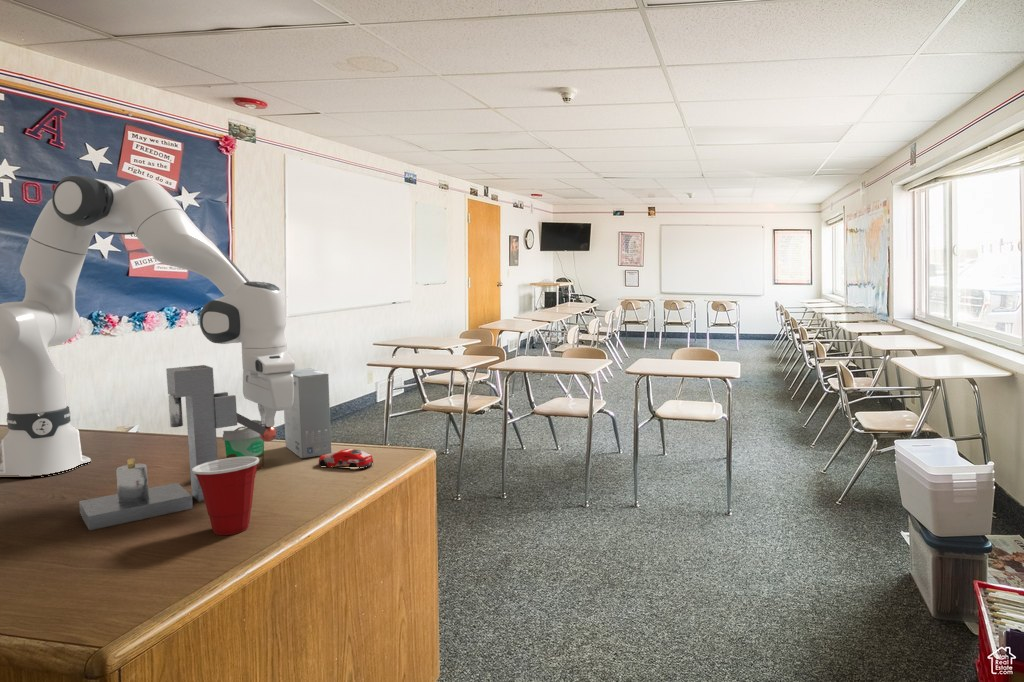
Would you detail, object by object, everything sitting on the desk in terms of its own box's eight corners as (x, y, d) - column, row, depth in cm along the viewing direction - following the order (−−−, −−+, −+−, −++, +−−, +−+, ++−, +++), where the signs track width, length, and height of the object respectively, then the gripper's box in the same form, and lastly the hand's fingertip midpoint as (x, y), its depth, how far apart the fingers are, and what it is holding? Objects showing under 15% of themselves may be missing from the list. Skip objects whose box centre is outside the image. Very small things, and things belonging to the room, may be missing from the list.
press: (80, 514, 131) (68, 376, 128) (229, 484, 147) (221, 362, 145) (89, 530, 122) (77, 383, 120) (246, 497, 139) (238, 367, 136)
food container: (249, 477, 153) (247, 432, 152) (224, 475, 154) (221, 431, 153) (279, 461, 165) (277, 420, 164) (255, 460, 166) (253, 419, 165)
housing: (116, 498, 132) (113, 459, 131) (145, 492, 135) (142, 454, 134) (121, 504, 128) (118, 464, 127) (151, 498, 131) (148, 459, 130)
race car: (313, 468, 160) (312, 451, 160) (327, 461, 165) (327, 445, 165) (363, 472, 155) (362, 455, 155) (376, 466, 161) (375, 449, 160)
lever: (208, 412, 141) (217, 398, 142) (267, 442, 149) (276, 428, 150) (213, 415, 138) (222, 400, 139) (273, 445, 146) (281, 431, 147)
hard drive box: (332, 454, 170) (329, 373, 168) (301, 459, 166) (297, 376, 164) (314, 442, 183) (310, 367, 181) (284, 446, 179) (280, 369, 177)
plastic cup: (235, 514, 129) (232, 450, 128) (276, 524, 123) (272, 457, 122) (182, 534, 120) (177, 465, 118) (223, 545, 114) (219, 473, 113)
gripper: (233, 356, 151) (236, 419, 153) (266, 366, 136) (270, 436, 137) (262, 354, 155) (265, 415, 157) (298, 363, 139) (301, 431, 141)
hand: (267, 425), depth 147 cm, fingers closed, pressing on lever
